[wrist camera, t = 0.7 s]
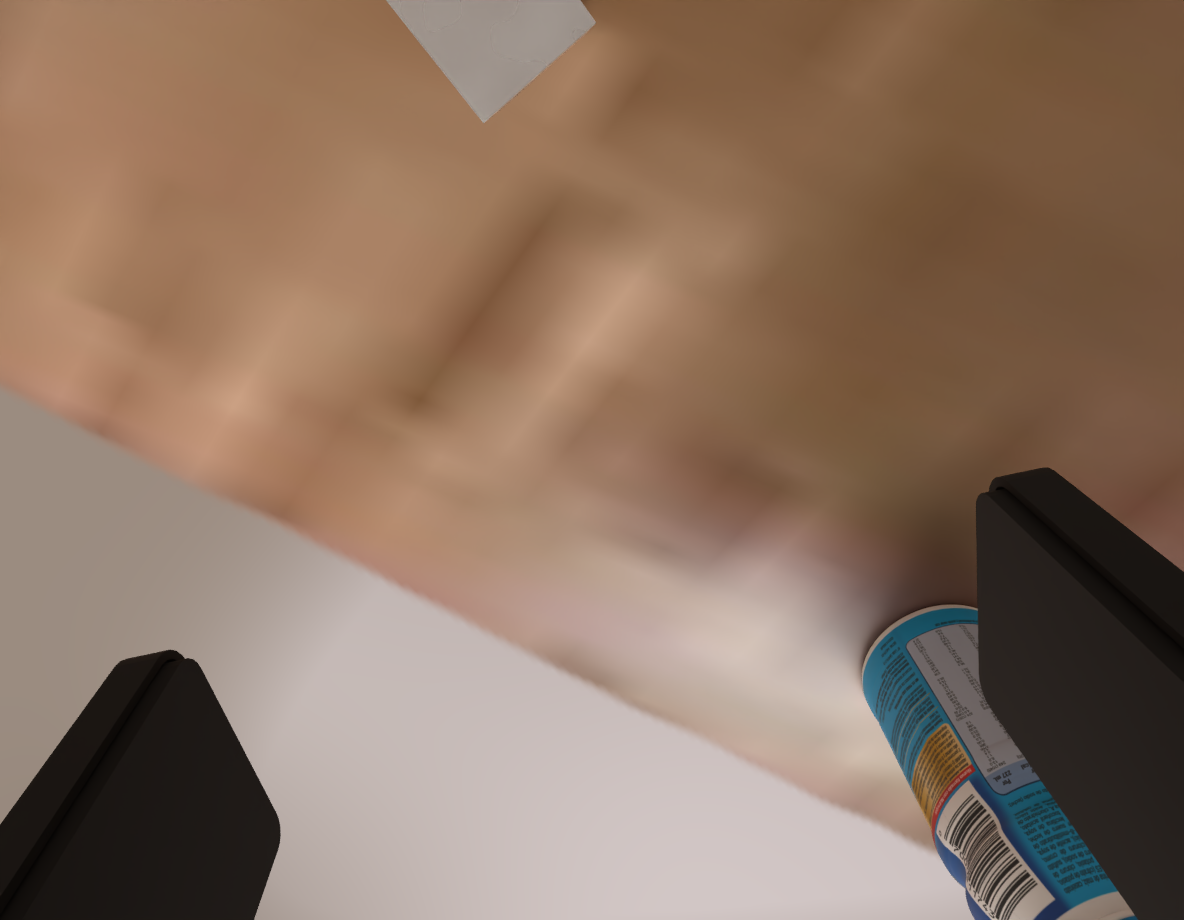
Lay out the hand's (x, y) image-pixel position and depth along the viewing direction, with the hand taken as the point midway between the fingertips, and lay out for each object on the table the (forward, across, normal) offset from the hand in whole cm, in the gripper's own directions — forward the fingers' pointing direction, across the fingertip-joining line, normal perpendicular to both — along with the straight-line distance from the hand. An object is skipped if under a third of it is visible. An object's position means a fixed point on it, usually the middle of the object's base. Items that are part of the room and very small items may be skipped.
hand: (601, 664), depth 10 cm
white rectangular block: (+27, +1, -9) cm, 29 cm away
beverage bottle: (+27, -14, +26) cm, 40 cm away
